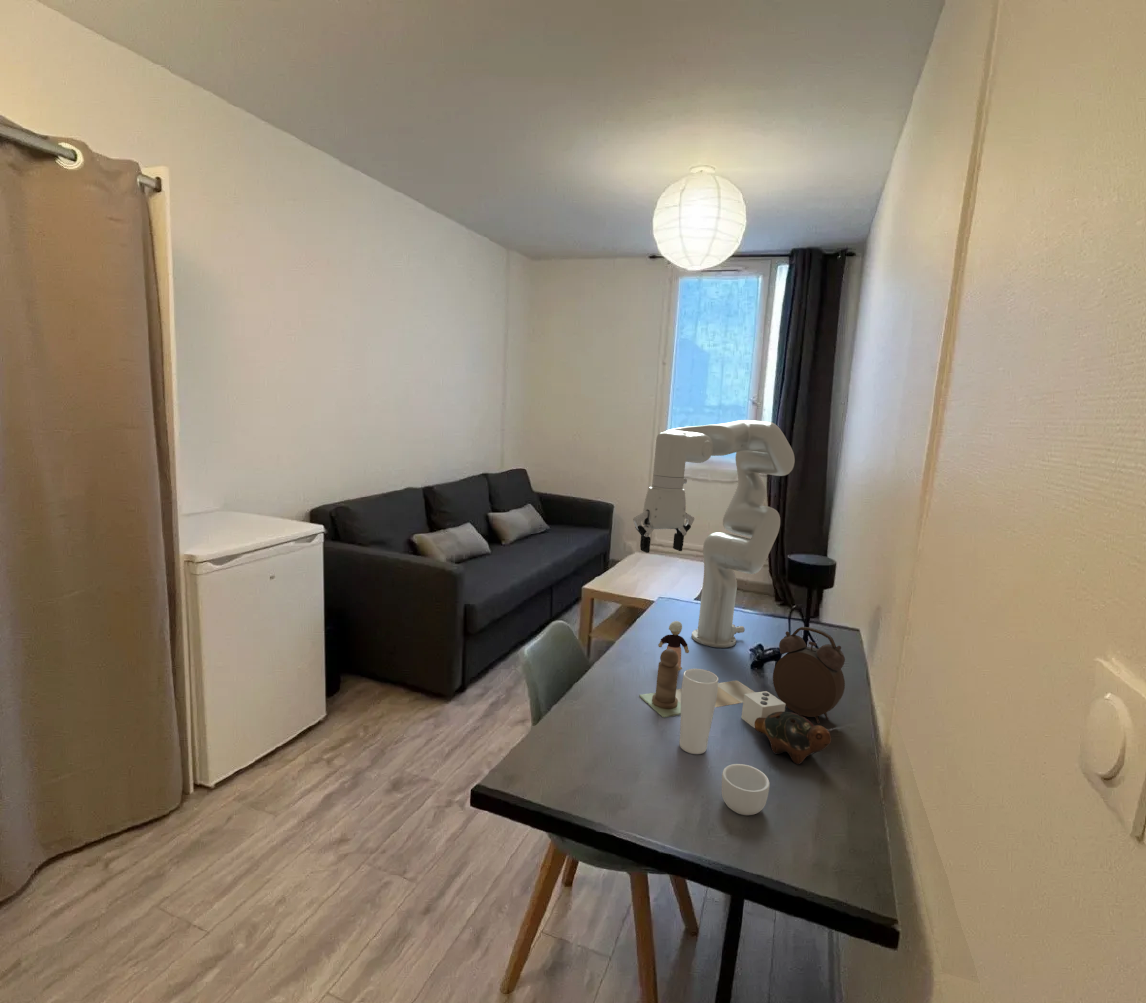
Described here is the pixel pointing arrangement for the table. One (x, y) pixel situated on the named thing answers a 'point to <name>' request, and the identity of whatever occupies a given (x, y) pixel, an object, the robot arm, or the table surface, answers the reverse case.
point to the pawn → (667, 680)
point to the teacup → (744, 789)
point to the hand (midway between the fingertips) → (661, 550)
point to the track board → (725, 696)
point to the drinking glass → (697, 709)
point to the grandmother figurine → (675, 640)
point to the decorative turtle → (793, 734)
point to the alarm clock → (809, 675)
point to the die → (760, 706)
